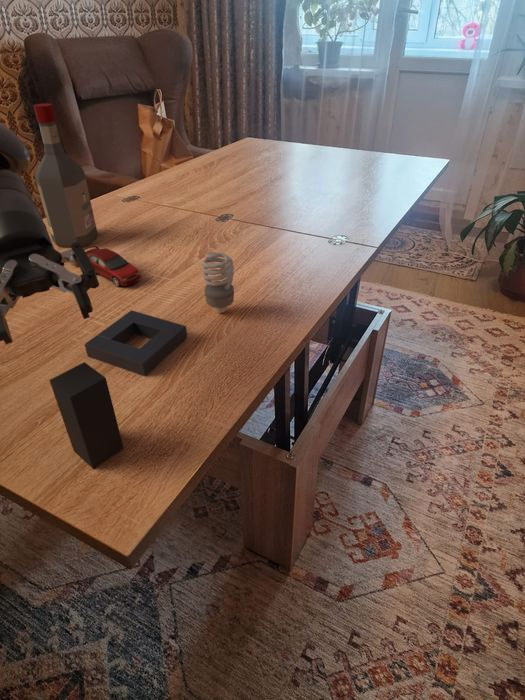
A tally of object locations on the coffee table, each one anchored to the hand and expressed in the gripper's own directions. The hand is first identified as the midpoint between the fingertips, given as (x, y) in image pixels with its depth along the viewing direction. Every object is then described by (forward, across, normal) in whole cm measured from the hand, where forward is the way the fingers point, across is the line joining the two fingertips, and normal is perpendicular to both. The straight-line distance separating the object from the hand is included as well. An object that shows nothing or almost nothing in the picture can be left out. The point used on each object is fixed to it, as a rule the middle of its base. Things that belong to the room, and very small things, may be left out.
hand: (47, 326), depth 53 cm
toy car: (-37, +13, +34) cm, 52 cm away
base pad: (-10, +11, +24) cm, 28 cm away
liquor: (-58, +10, +41) cm, 72 cm away
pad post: (+8, 0, +16) cm, 18 cm away
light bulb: (-13, +27, +27) cm, 41 cm away
